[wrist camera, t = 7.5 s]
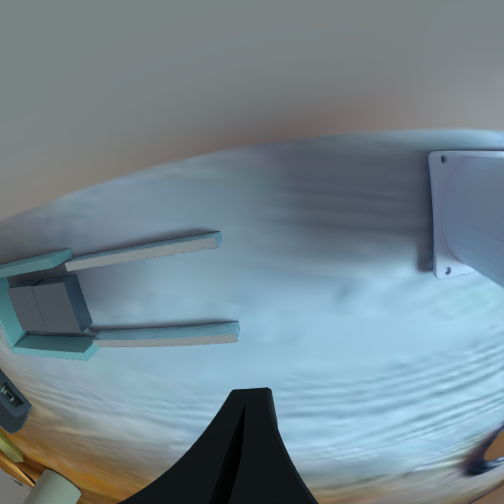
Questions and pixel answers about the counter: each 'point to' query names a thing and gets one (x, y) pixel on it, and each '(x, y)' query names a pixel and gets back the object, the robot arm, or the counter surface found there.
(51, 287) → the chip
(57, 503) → the travel mug
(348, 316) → the counter surface
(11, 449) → the saucer
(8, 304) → the tray
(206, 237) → the slot guide
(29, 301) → the block
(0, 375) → the external hard drive
